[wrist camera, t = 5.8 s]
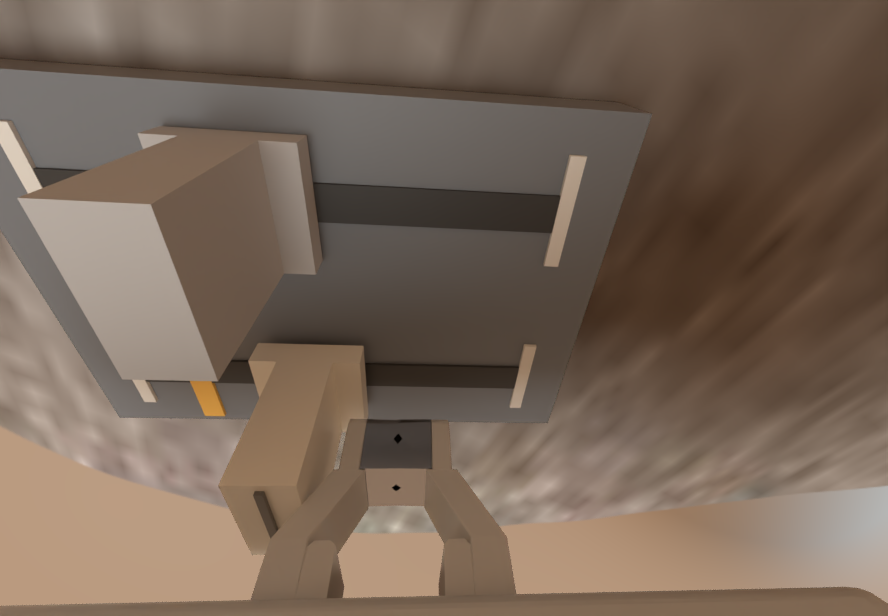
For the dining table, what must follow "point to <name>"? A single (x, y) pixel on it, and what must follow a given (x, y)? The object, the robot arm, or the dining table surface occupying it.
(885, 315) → the dining table surface
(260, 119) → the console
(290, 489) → the cap
